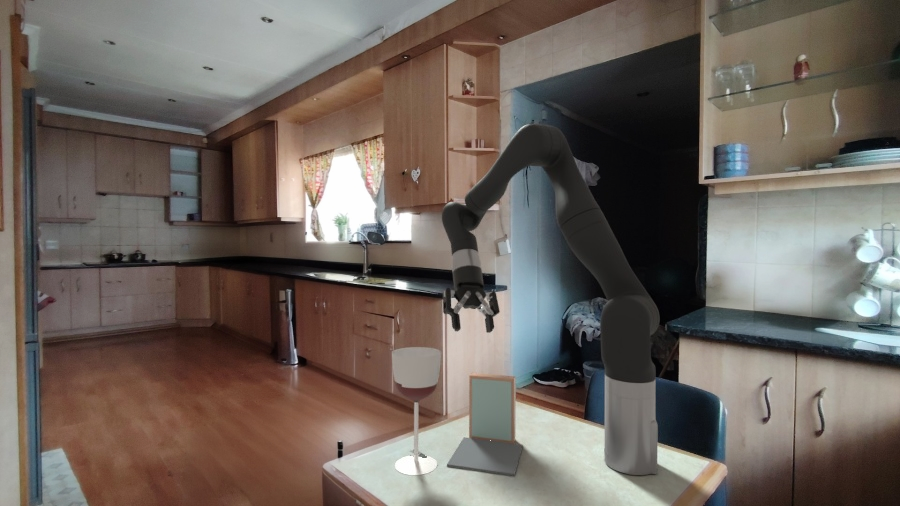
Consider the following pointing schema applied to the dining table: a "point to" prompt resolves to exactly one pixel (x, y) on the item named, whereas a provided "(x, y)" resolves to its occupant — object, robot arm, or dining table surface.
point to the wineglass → (416, 395)
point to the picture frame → (492, 407)
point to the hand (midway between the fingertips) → (474, 331)
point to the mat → (486, 456)
